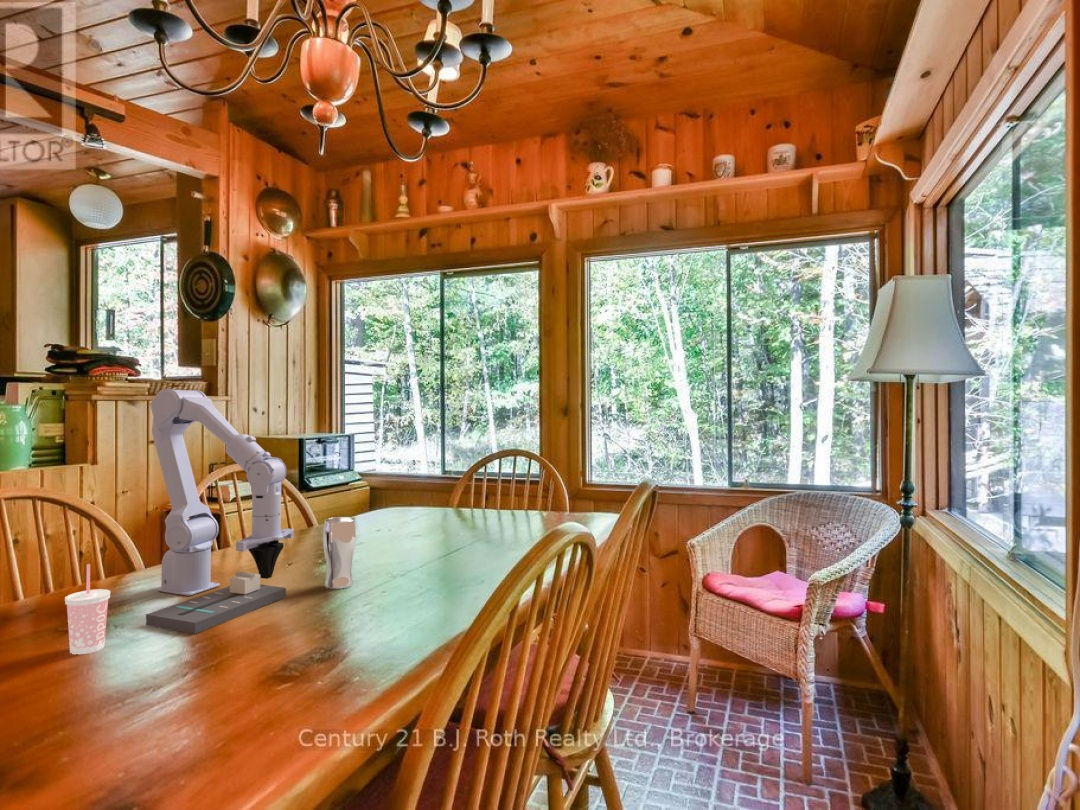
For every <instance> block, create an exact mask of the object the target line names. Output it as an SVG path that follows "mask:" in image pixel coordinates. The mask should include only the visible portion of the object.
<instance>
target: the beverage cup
mask: <svg viewBox="0 0 1080 810" xmlns="http://www.w3.org/2000/svg"><path fill="white" fill-rule="evenodd" d="M85 589H86V590H82V591H78V592H73V593H71V594H68V595H67V596H65V597H64V602H65V603H64V605H66V613H67V623H68V624H67V625H68V626H67V627H68V640H69V641H68V643H69V654H71V653H72V654H71V655H76V654H78V655H86V654H91V653H95V652H97V651H100V650H102V649H103V648H105V643H106V642H105V641H106V632H107V631H106V630H107V617H108V603H109V599H110V598H111V590H110V589H104V588H98V589H91V564H90V563H88V564H86V588H85Z"/></svg>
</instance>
